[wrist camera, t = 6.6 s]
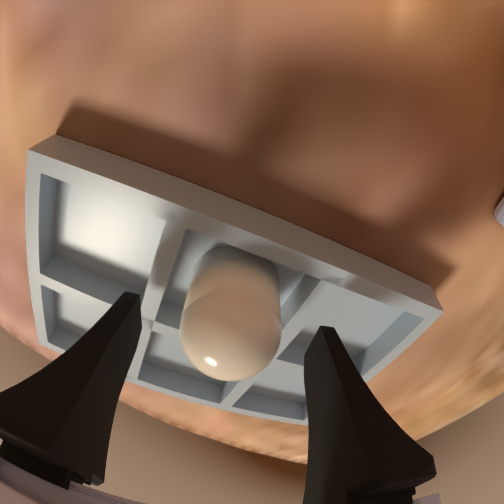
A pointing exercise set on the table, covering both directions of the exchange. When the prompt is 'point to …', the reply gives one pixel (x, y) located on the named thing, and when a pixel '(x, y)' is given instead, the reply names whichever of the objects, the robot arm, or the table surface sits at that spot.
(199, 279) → the egg
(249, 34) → the table surface
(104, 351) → the robot arm
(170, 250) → the grey compartment tray
